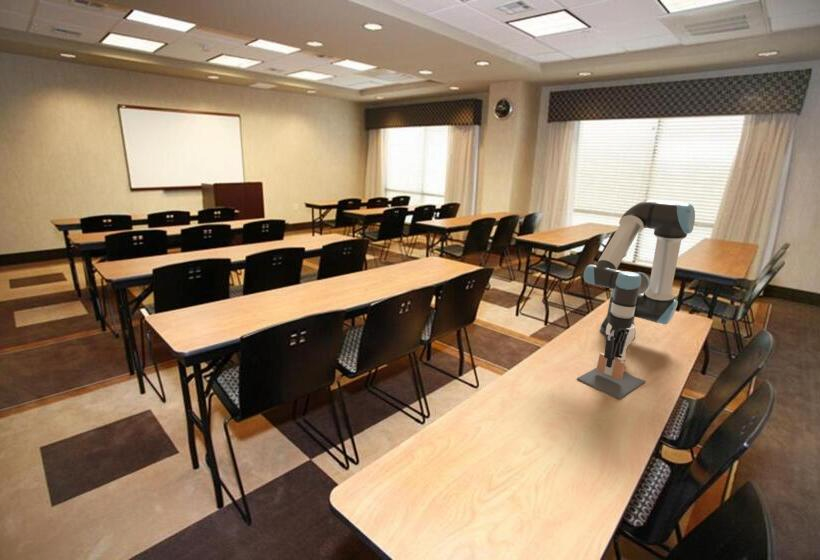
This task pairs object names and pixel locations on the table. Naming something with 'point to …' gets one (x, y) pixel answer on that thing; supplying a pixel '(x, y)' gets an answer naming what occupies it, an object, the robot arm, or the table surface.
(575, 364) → the table surface
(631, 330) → the cup
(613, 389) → the mat
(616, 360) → the slab
